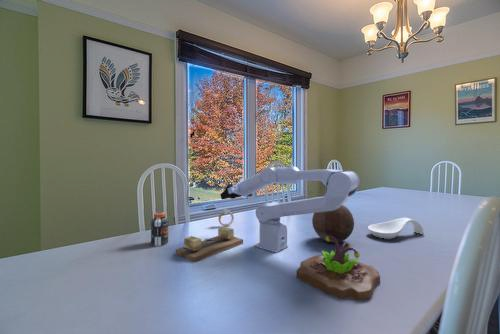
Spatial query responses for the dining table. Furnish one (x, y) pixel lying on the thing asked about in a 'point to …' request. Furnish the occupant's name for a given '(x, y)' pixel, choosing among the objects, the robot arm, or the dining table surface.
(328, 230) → the wooden sphere
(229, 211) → the ring
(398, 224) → the spoon rest
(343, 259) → the plant
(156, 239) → the pill bottle
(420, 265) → the dining table surface
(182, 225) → the dining table surface
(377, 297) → the dining table surface
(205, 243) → the flat brown board
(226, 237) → the block
